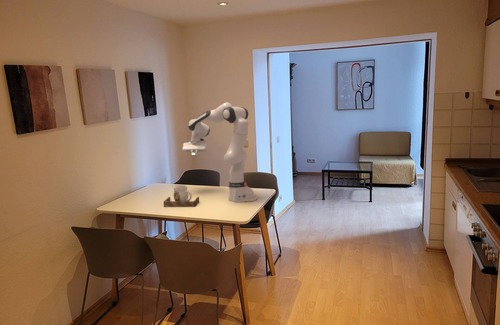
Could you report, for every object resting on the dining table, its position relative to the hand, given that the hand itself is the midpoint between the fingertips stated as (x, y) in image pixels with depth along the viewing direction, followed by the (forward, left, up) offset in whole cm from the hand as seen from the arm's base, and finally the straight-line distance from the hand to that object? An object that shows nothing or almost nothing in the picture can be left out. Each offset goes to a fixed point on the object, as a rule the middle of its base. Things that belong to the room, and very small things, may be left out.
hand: (193, 155), depth 308 cm
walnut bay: (+5, +24, -33) cm, 42 cm away
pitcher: (+5, +24, -34) cm, 42 cm away
